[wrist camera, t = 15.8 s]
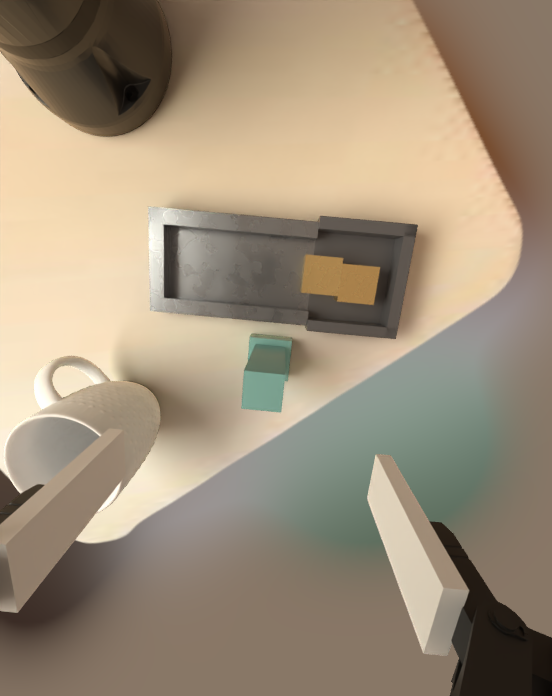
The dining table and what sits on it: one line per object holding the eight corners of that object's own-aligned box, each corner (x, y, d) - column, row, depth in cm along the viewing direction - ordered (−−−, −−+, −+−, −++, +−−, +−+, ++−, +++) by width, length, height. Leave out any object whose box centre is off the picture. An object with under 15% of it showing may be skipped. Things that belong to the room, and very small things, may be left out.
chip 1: (304, 255, 33) (305, 254, 31) (339, 259, 33) (343, 257, 31) (300, 291, 34) (301, 292, 32) (334, 294, 34) (337, 296, 32)
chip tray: (317, 221, 33) (320, 215, 30) (406, 229, 33) (417, 224, 30) (305, 326, 36) (306, 330, 33) (386, 333, 36) (395, 338, 33)
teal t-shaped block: (251, 333, 36) (235, 361, 25) (291, 337, 36) (295, 367, 25) (248, 371, 37) (232, 415, 26) (287, 375, 37) (288, 421, 26)
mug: (60, 363, 38) (-54, 407, 25) (129, 326, 36) (47, 353, 24) (123, 454, 41) (51, 535, 28) (190, 423, 40) (146, 493, 27)
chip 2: (338, 264, 33) (342, 263, 31) (373, 267, 33) (380, 267, 31) (333, 299, 34) (337, 301, 32) (367, 302, 34) (373, 305, 32)
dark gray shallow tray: (158, 211, 33) (148, 206, 31) (316, 225, 33) (319, 222, 31) (159, 308, 36) (150, 310, 33) (305, 322, 36) (307, 325, 33)
